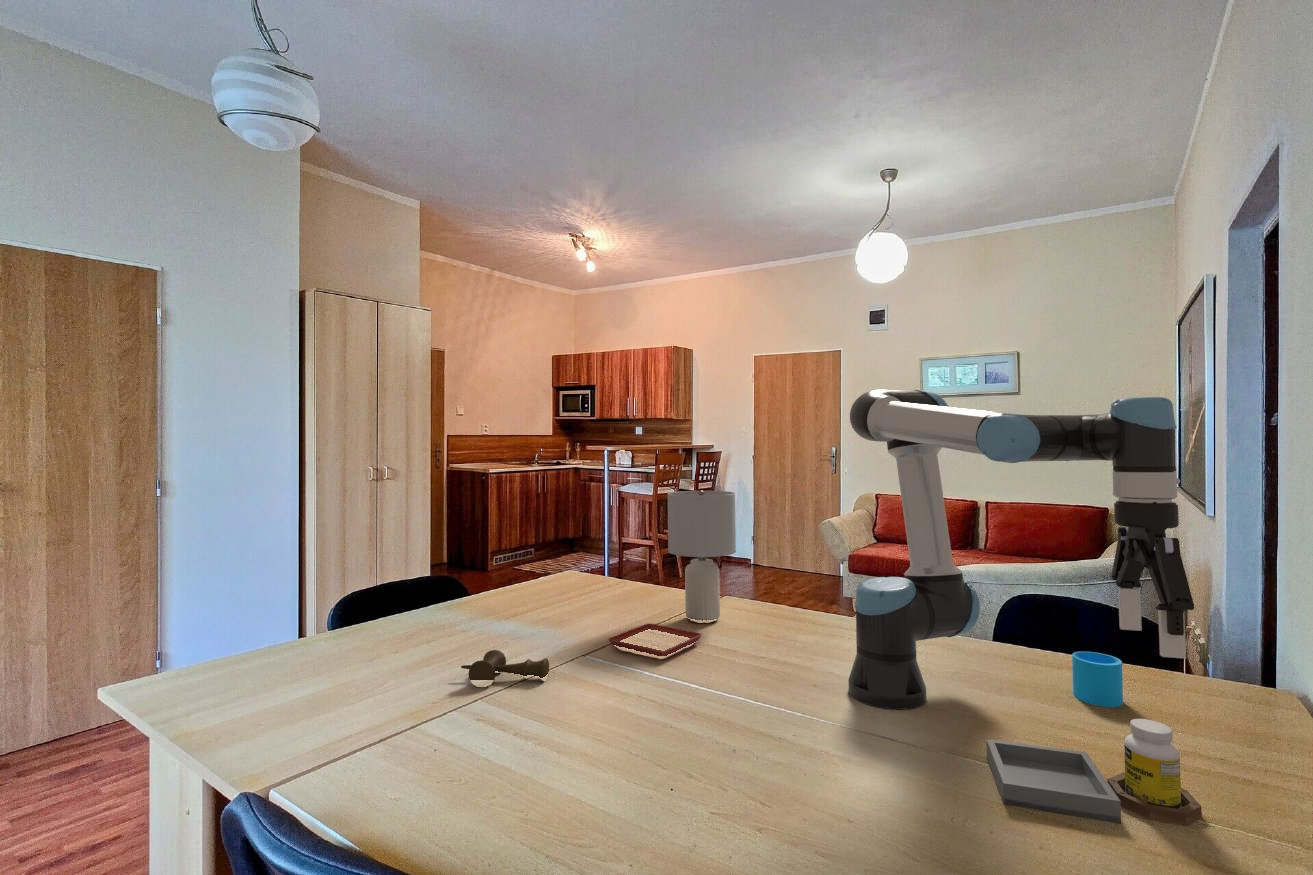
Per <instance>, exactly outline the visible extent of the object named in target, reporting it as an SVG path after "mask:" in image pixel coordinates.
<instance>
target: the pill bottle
mask: <svg viewBox="0 0 1313 875" xmlns="http://www.w3.org/2000/svg"><path fill="white" fill-rule="evenodd" d="M1129 726H1130V728H1129V730H1130V732H1131V734H1128V735H1127V736H1126V737H1125V739H1124V773H1125V789H1124V790H1125V791H1124V792H1125V793H1126V794H1128V795H1130V796H1132V797H1135V798H1137V799H1139V800H1141V801H1144V802H1146V803H1148V804H1150V805H1156V806H1163V807H1169V808H1176V809H1180V808H1182V804H1181V788H1182V787H1181V780H1182V779H1181V755H1180V751H1179V749H1178V748H1177V747H1176V746H1175V744H1173V743H1172V742H1173V738H1174V737H1173V736H1174V735H1173V730H1172V728H1171V727H1170V726H1168V725H1166V724H1164V723H1162V722H1158V721H1155V720H1151V719H1147V718H1146V719H1145V718H1134V719H1131V720H1130V725H1129Z"/></svg>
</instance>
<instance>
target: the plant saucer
mask: <svg viewBox="0 0 1313 875" xmlns="http://www.w3.org/2000/svg"><path fill="white" fill-rule="evenodd" d="M648 629H651V630H658V631H661V632H667V633H670V634H675V635H678V636H684V637H688V638H690V639H689V640H687V641H685V642H683V643H680V644H678V645H676V646H674V647H672V648H669V649H667V650H665V651H661V650H656V649H652V648H648V647H643V646H638V645H633V644H629V643H624V642H620V641H621V640H623V639H626V638H628V637H630V636H633V635H635V634H638V633H639V632H643V631H645V630H648ZM702 635H703V634H702V633H701V632H696V631H691V630H685V629H680V628H677V627H676V628H675V627H671V626H664V625H660V624H656V623H655V624H654V623H646V624H644V625H640V626H638V627H636V628H633V629H632V628H631V629H630V630H626V631H624V632H621V633H619V634H617V635H614V636H612V637H608V639H607V640H608V641H609V643H611V645H612V646H613V645H616V646H619V647H625V648H628V649H634V650H636V651H640V652H646V653H649V654H654V655H657V656H667V655H668V654H671V653H673V652H676V651H677V650H679V649H681V648H683V647H686V646H687V645H690V644H692V643H694V642H696V641H697V642H698V641H699V640H700V638H701V637H702ZM697 642H696V643H697Z"/></svg>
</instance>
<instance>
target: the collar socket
mask: <svg viewBox="0 0 1313 875" xmlns="http://www.w3.org/2000/svg"><path fill="white" fill-rule="evenodd" d="M1106 781H1107V782H1108V784H1109V785H1110V787H1111V788H1112V790H1113V791H1114V792H1115V794H1116V795H1117V797H1118V798H1119V800H1120V801H1121V808H1124V809H1126V810H1128V811H1130V812H1132V813H1134V814H1137V815H1139V816H1141V817H1143V818H1144V819H1147V820H1149V821H1154V822H1159V823H1168V824H1174V825H1178V826H1179V825H1180V826H1185V827H1187V826H1189V825H1191V824H1192V823H1194V822H1195V823H1196V821H1198V820H1200V819H1202V818H1203V817H1202V815H1203V814H1202V805H1201V804H1200V803H1199V802H1198V800H1197V799H1195V797H1194V796H1193V795H1192V794H1191V793H1190V792H1189V790H1187V789H1184V788H1182V787H1181V808H1180V809H1176V808H1169V807H1163V806H1156V805H1150V804H1148V803H1146V802H1144V801H1141V800H1139V799H1137V798H1135V797H1132V796H1130V795H1128V794H1126V792H1125V791H1124V790H1125V772H1120V773H1118V774H1116V775H1113V776H1112V777H1111V776H1110V777H1109V778H1107V779H1106Z"/></svg>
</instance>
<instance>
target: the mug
mask: <svg viewBox="0 0 1313 875" xmlns="http://www.w3.org/2000/svg"><path fill="white" fill-rule="evenodd" d="M1071 659H1072V660H1071V662H1072V665H1071V666H1072V667H1071V668H1072V694H1073V697H1074V698H1075V699H1077V700H1079V701H1081V702H1083V703H1086V704H1089V705H1093V706H1097V707H1105V708H1119V707H1122V706H1123V704H1124V694H1123V693H1124V692H1123V691H1124V690H1123V661H1122V660H1121V659H1120V658H1118V657H1116V656H1113V655H1109V654H1105V653H1100V652H1093V651H1075V652H1073V653H1072V654H1071Z"/></svg>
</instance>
